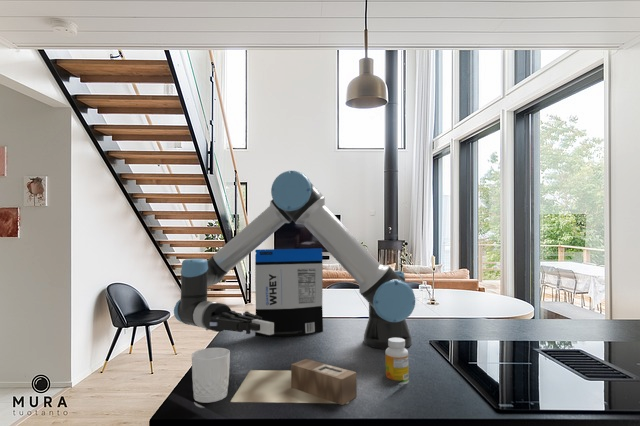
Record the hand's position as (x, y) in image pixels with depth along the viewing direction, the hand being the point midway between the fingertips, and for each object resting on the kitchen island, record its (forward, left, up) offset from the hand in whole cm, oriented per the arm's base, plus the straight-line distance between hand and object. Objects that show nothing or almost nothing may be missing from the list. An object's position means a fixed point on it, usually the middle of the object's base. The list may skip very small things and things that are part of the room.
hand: (271, 328), depth 92 cm
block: (-7, +5, -8) cm, 12 cm away
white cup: (+11, +12, -12) cm, 20 cm away
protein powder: (+1, -43, -12) cm, 45 cm away
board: (-6, +6, -12) cm, 15 cm away
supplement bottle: (-30, 0, -12) cm, 33 cm away
